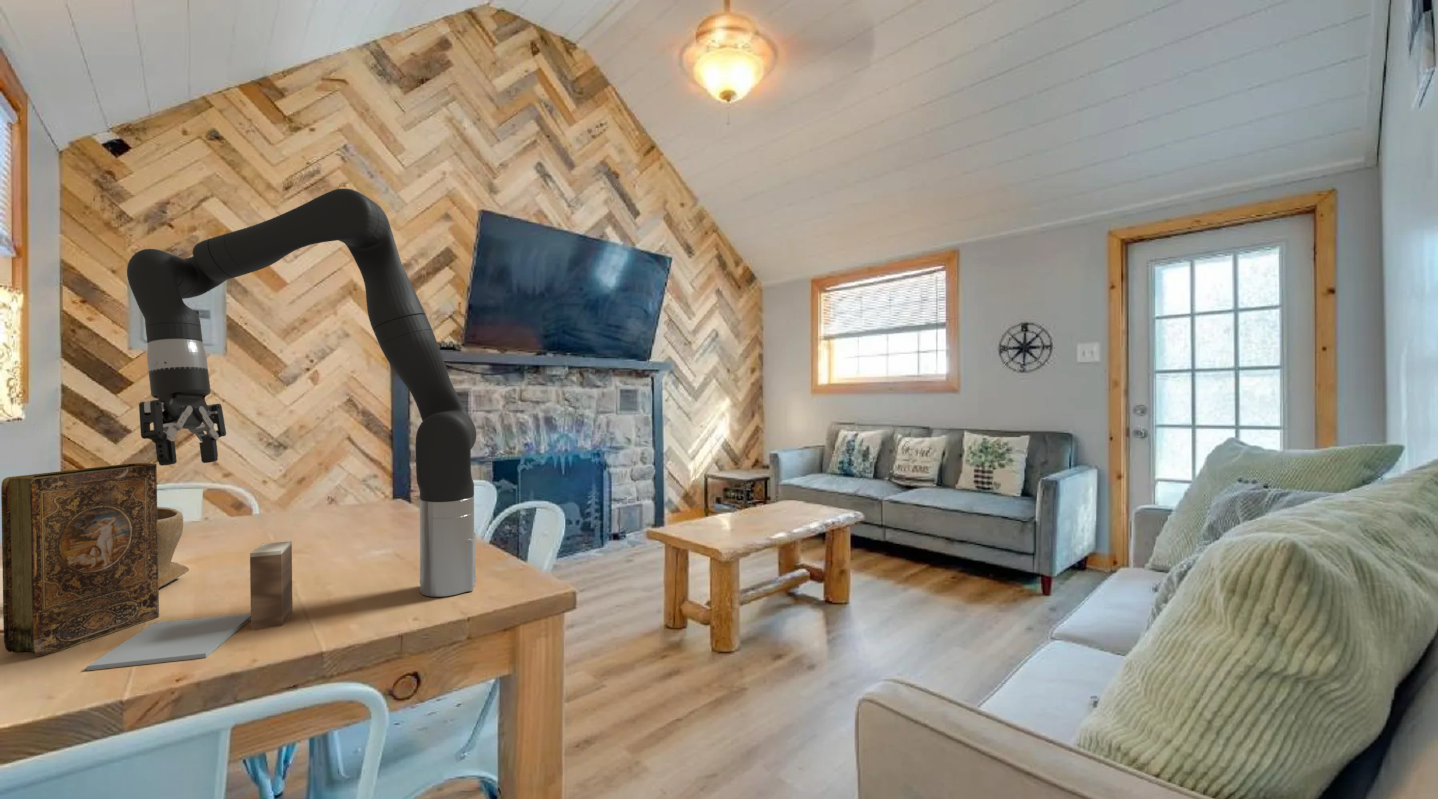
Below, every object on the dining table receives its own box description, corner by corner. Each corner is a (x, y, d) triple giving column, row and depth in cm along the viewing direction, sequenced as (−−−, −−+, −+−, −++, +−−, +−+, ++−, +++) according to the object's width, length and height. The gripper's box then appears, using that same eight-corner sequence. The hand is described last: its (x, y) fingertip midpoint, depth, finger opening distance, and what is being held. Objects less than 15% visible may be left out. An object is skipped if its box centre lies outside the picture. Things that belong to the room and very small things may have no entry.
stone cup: (156, 601, 104) (154, 516, 103) (74, 605, 101) (72, 518, 101) (210, 573, 119) (209, 499, 118) (139, 577, 116) (138, 501, 116)
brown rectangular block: (292, 612, 99) (291, 541, 99) (281, 625, 94) (281, 550, 93) (263, 615, 98) (262, 543, 97) (250, 629, 92) (249, 553, 92)
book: (140, 611, 99) (137, 462, 98) (166, 614, 98) (163, 463, 97) (3, 655, 83) (-1, 477, 82) (33, 659, 82) (29, 479, 81)
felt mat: (253, 617, 97) (253, 613, 97) (206, 657, 83) (205, 653, 83) (154, 626, 93) (154, 622, 93) (87, 670, 79) (86, 666, 79)
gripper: (165, 360, 94) (177, 462, 93) (233, 370, 108) (244, 458, 107) (115, 367, 93) (127, 469, 93) (190, 376, 108) (200, 464, 107)
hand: (190, 463), depth 100 cm, fingers open, 8 cm apart
